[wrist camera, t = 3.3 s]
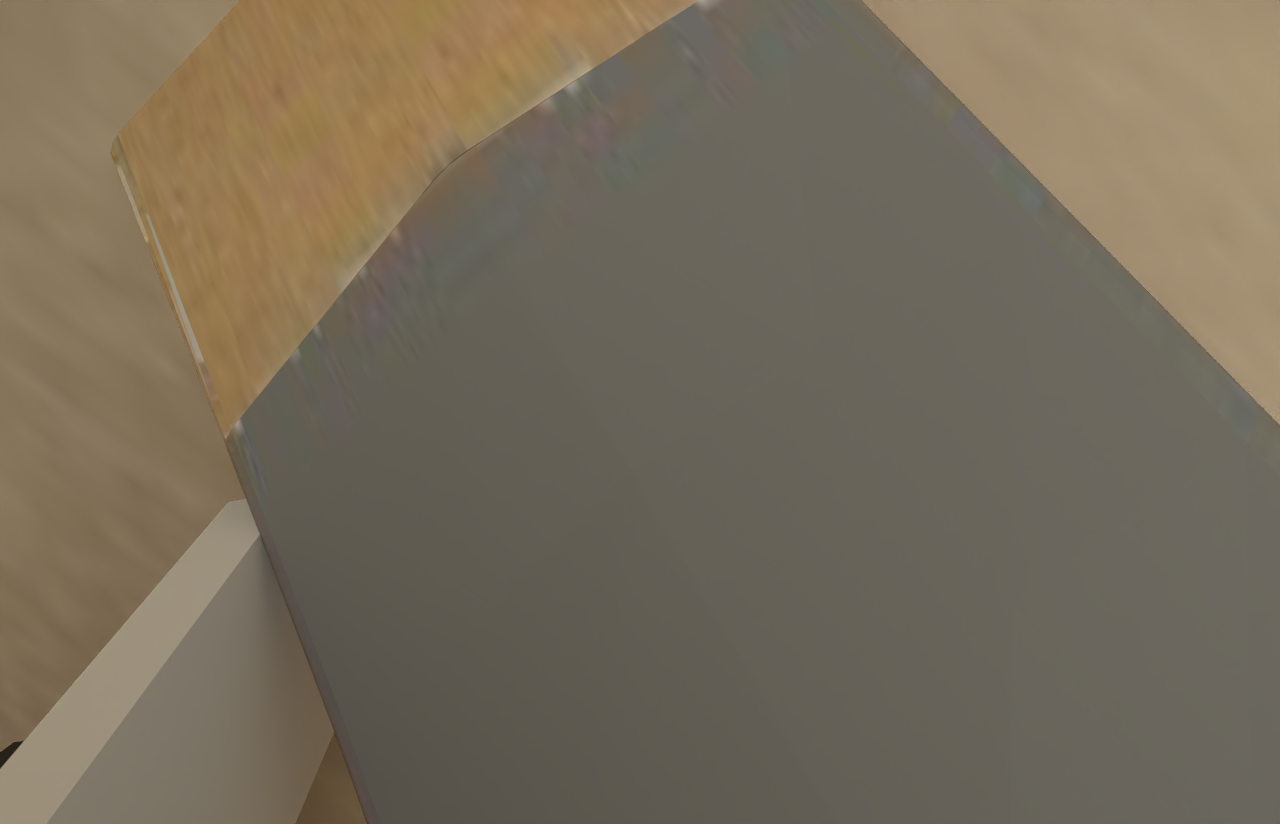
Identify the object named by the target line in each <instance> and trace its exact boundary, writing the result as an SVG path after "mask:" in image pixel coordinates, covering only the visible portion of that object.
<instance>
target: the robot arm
mask: <svg viewBox="0 0 1280 824" xmlns="http://www.w3.org/2000/svg"><path fill="white" fill-rule="evenodd" d="M333 734H334V730H333V727H332V725H331V722H330V719H329V717H328V714H327V711H326V709H325V706H324V703H323V701H322V698H321V695H320V693H319V690H318V688H317V685H316V682H315V680H314V677H313V674H312V672H311V669H310V666H309V664H308V661H307V658H306V656H305V653H304V651H303V648H302V645H301V643H300V640H299V637H298V635H297V632H296V629H295V627H294V624H293V621H292V619H291V616H290V613H289V611H288V608H287V606H286V603H285V600H284V598H283V595H282V592H281V590H280V587H279V584H278V582H277V579H276V576H275V574H274V571H273V569H272V566H271V563H270V561H269V558H268V555H267V553H266V550H265V547H264V545H263V542H262V539H261V535H260V533H259V531H258V529H257V526H256V524H255V521H254V518H253V516H252V513H251V510H250V508H249V505H248V502H247V500H246V499H242V500H236V501H230V502H228V503H227V504H226V505H225V506H224V507H223V509H222V510H221V511H220V512H219V513H218V514H217V516H216V517H215V518H214V519H213V520H212V521H211V523H210V524H209V525H208V526H207V527H206V528H205V530H204V531H203V532H202V533H201V534H200V535H199V537H198V538H197V539H196V540H195V541H194V542H193V544H192V545H191V546H190V547H189V548H188V550H187V551H186V552H185V553H184V554H183V555H182V557H181V558H180V559H179V560H178V561H177V562H176V564H175V565H174V566H173V567H172V568H171V569H170V571H169V572H168V573H167V574H166V575H165V576H164V578H163V579H162V580H161V581H160V582H159V583H158V585H157V586H156V587H155V588H154V589H153V591H152V592H151V593H150V594H149V595H148V596H147V598H146V599H145V600H144V601H143V602H142V603H141V605H140V606H139V607H138V608H137V609H136V610H135V612H134V613H133V614H132V615H131V616H130V617H129V619H128V620H127V621H126V622H125V623H124V624H123V626H122V627H121V628H120V629H119V630H118V632H117V633H116V634H115V635H114V636H113V637H112V639H111V640H110V641H109V642H108V643H107V644H106V646H105V647H104V648H103V649H102V650H101V651H100V653H99V654H98V655H97V656H96V657H95V658H94V660H93V661H92V662H91V663H90V664H89V665H88V667H87V668H86V669H85V670H84V671H83V673H82V674H81V675H80V676H79V677H78V678H77V680H76V681H75V682H74V683H73V684H72V685H71V687H70V688H69V689H68V690H67V691H66V692H65V694H64V695H63V696H62V697H61V698H60V699H59V701H58V702H57V703H56V704H55V705H54V706H53V708H52V709H51V710H50V711H49V712H48V714H47V715H46V716H45V717H44V718H43V719H42V721H41V722H40V723H39V724H38V725H37V726H36V728H35V729H34V730H33V731H32V732H31V733H30V735H29V736H28V737H27V738H26V739H25V740H24V741H21V742H14V743H12V744H11V745H10V746H8V747H7V748H6V749H4V750H3V751H2V752H0V824H296V822H297V819H298V817H299V814H300V812H301V810H302V807H303V805H304V803H305V800H306V798H307V796H308V793H309V791H310V789H311V786H312V784H313V781H314V779H315V777H316V774H317V772H318V770H319V767H320V765H321V763H322V760H323V758H324V756H325V753H326V751H327V749H328V746H329V744H330V741H331V739H332V737H333Z"/></svg>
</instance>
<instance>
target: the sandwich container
mask: <svg viewBox="0 0 1280 824" xmlns="http://www.w3.org/2000/svg"><path fill="white" fill-rule="evenodd" d="M111 155H112V158H113V160H114V163H115V165H116V168H117V170H118V173H119V175H120V178H121V180H122V183H123V185H124V188H125V191H126V193H127V196H128V198H129V201H130V203H131V206H132V208H133V211H134V213H135V216H136V218H137V221H138V224H139V226H140V229H141V231H142V234H143V236H144V239H145V241H146V244H147V246H148V249H149V251H150V254H151V257H152V259H153V262H154V264H155V267H156V269H157V272H158V274H159V277H160V279H161V282H162V284H163V287H164V290H165V292H166V295H167V297H168V300H169V302H170V305H171V307H172V310H173V312H174V315H175V317H176V320H177V323H178V325H179V328H180V330H181V333H182V335H183V338H184V340H185V343H186V345H187V348H188V350H189V353H190V356H191V358H192V361H193V363H194V366H195V368H196V371H197V373H198V376H199V378H200V381H201V383H202V386H203V389H204V391H205V394H206V396H207V399H208V401H209V404H210V406H211V409H212V411H213V414H214V416H215V419H216V422H217V424H218V427H219V429H220V432H221V434H222V437H223V439H224V442H225V444H226V447H227V450H228V452H229V455H230V457H231V460H232V463H233V465H234V468H235V471H236V473H237V476H238V479H239V481H240V484H241V487H242V489H243V492H244V494H245V497H246V500H247V502H248V505H249V508H250V510H251V513H252V516H253V518H254V521H255V524H256V526H257V529H258V531H259V533H260V535H261V539H262V542H263V545H264V547H265V550H266V553H267V555H268V558H269V561H270V563H271V566H272V569H273V571H274V574H275V576H276V579H277V582H278V584H279V587H280V590H281V592H282V595H283V598H284V600H285V603H286V606H287V608H288V611H289V613H290V616H291V619H292V621H293V624H294V627H295V629H296V632H297V635H298V637H299V640H300V643H301V645H302V648H303V651H304V653H305V656H306V658H307V661H308V664H309V666H310V669H311V672H312V674H313V677H314V680H315V682H316V685H317V688H318V690H319V693H320V695H321V698H322V701H323V703H324V706H325V709H326V711H327V714H328V717H329V719H330V722H331V725H332V727H333V730H334V732H335V735H336V738H337V740H338V743H339V746H340V748H341V751H342V754H343V757H344V759H345V762H346V765H347V768H348V771H349V774H350V776H351V779H352V782H353V785H354V788H355V791H356V793H357V796H358V799H359V802H360V805H361V808H362V811H363V813H364V816H365V819H366V822H367V824H1280V425H1279V424H1278V423H1277V422H1276V421H1275V420H1274V419H1273V418H1272V417H1271V416H1270V415H1269V414H1268V413H1267V412H1266V411H1265V410H1264V409H1263V408H1262V407H1261V406H1260V405H1259V404H1258V403H1257V402H1256V401H1255V400H1254V399H1253V398H1252V397H1251V396H1250V395H1249V394H1248V393H1247V392H1246V391H1245V390H1244V389H1243V388H1242V387H1241V386H1240V385H1239V384H1238V383H1237V382H1236V381H1235V380H1234V379H1233V377H1232V376H1231V375H1230V374H1229V373H1228V372H1227V371H1226V370H1225V369H1224V368H1223V367H1222V366H1221V365H1220V364H1219V363H1218V362H1217V361H1216V360H1215V359H1214V358H1213V357H1212V356H1211V355H1210V354H1209V353H1208V352H1207V351H1206V350H1205V349H1204V348H1203V347H1202V346H1201V345H1200V344H1199V343H1198V342H1197V341H1196V340H1195V339H1194V338H1193V337H1192V336H1191V335H1190V334H1189V333H1188V332H1187V331H1186V330H1185V329H1184V328H1183V327H1182V326H1181V325H1180V324H1179V323H1178V322H1177V321H1176V320H1175V319H1174V318H1173V317H1172V316H1171V315H1170V314H1169V313H1168V312H1167V311H1166V310H1165V308H1164V307H1163V306H1162V305H1161V304H1160V303H1159V302H1158V301H1157V300H1156V299H1155V298H1154V297H1153V296H1152V295H1151V294H1150V293H1149V292H1148V291H1147V290H1146V289H1145V288H1144V287H1143V286H1142V285H1141V284H1140V283H1139V282H1138V281H1137V280H1136V279H1135V278H1134V277H1133V276H1132V275H1131V274H1130V273H1129V272H1128V271H1127V270H1126V269H1125V268H1124V267H1123V266H1122V265H1121V264H1120V263H1119V262H1118V261H1117V260H1116V259H1115V258H1114V257H1113V256H1112V255H1111V254H1110V253H1109V252H1108V251H1107V250H1106V249H1105V248H1104V247H1103V246H1102V245H1101V244H1100V243H1099V242H1098V241H1097V239H1096V238H1095V237H1094V236H1093V235H1092V234H1091V233H1090V232H1089V231H1088V230H1087V229H1086V228H1085V227H1084V226H1083V225H1082V224H1081V223H1080V222H1079V221H1078V220H1077V219H1076V218H1075V217H1074V216H1073V215H1072V214H1071V213H1070V212H1069V211H1068V210H1067V209H1066V208H1065V207H1064V206H1063V205H1062V204H1061V203H1060V202H1059V201H1058V200H1057V199H1056V198H1055V197H1054V196H1053V195H1052V194H1051V193H1050V192H1049V191H1048V190H1047V189H1046V188H1045V187H1044V186H1043V185H1042V184H1041V183H1040V182H1039V181H1038V180H1037V179H1036V178H1035V177H1034V176H1033V175H1032V173H1031V172H1030V171H1029V170H1028V169H1027V168H1026V167H1025V166H1024V165H1023V164H1022V163H1021V162H1020V161H1019V160H1018V159H1017V158H1016V157H1015V156H1014V155H1013V154H1012V153H1011V152H1010V151H1009V150H1008V149H1007V148H1006V147H1005V146H1004V145H1003V144H1002V143H1001V142H1000V141H999V140H998V139H997V138H996V137H995V136H994V135H993V134H992V133H991V132H990V131H989V130H988V129H987V128H986V127H985V126H984V125H983V124H982V123H981V122H980V121H979V120H978V119H977V118H976V117H975V116H974V115H973V114H972V113H971V111H970V110H969V109H968V108H967V107H966V106H965V105H964V104H963V103H962V102H961V101H960V100H959V99H958V98H957V97H956V96H955V95H954V94H953V93H952V92H951V91H950V90H949V89H948V88H947V87H946V86H945V85H944V84H943V83H942V82H941V81H940V80H939V79H938V78H937V77H936V76H935V75H934V74H933V73H932V72H931V71H930V70H929V69H928V68H927V67H926V66H925V65H924V64H923V63H922V62H921V61H920V60H919V59H918V58H917V57H916V56H915V55H914V54H913V53H912V52H911V51H910V49H909V48H908V47H907V46H906V45H905V44H904V43H903V42H902V41H901V40H900V39H899V38H898V37H897V36H896V35H895V34H894V33H893V32H892V31H891V30H890V29H889V28H888V27H887V26H886V25H885V24H884V23H883V22H882V21H881V20H880V19H879V18H878V17H877V16H876V15H875V14H874V13H873V12H872V11H871V10H870V9H869V8H868V7H867V6H866V5H865V4H864V3H863V2H862V1H861V0H241V1H240V2H239V3H238V4H237V5H236V6H235V7H234V8H233V9H232V10H231V11H230V13H229V14H228V15H227V16H226V17H225V18H224V19H223V20H222V21H221V22H220V23H219V25H218V26H217V27H216V28H215V29H214V30H213V31H212V32H211V33H210V34H209V35H208V37H207V38H206V39H205V40H204V41H203V42H202V43H201V44H200V45H199V46H198V47H197V48H196V50H195V51H194V52H193V53H192V54H191V55H190V56H189V57H188V58H187V59H186V60H185V62H184V63H183V64H182V65H181V66H180V67H179V68H178V69H177V70H176V71H175V72H174V74H173V75H172V76H171V77H170V78H169V79H168V80H167V81H166V82H165V83H164V84H163V85H162V87H161V88H160V89H159V90H158V91H157V92H156V93H155V94H154V95H153V96H152V97H151V99H150V100H149V101H148V102H147V103H146V104H145V105H144V106H143V107H142V108H141V109H140V111H139V112H138V113H137V114H136V115H135V116H134V117H133V118H132V119H131V120H130V121H129V122H128V124H127V125H126V126H125V127H124V128H123V129H122V130H121V131H120V132H119V134H118V135H117V137H116V139H115V140H114V142H113V144H112V149H111Z"/></svg>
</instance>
